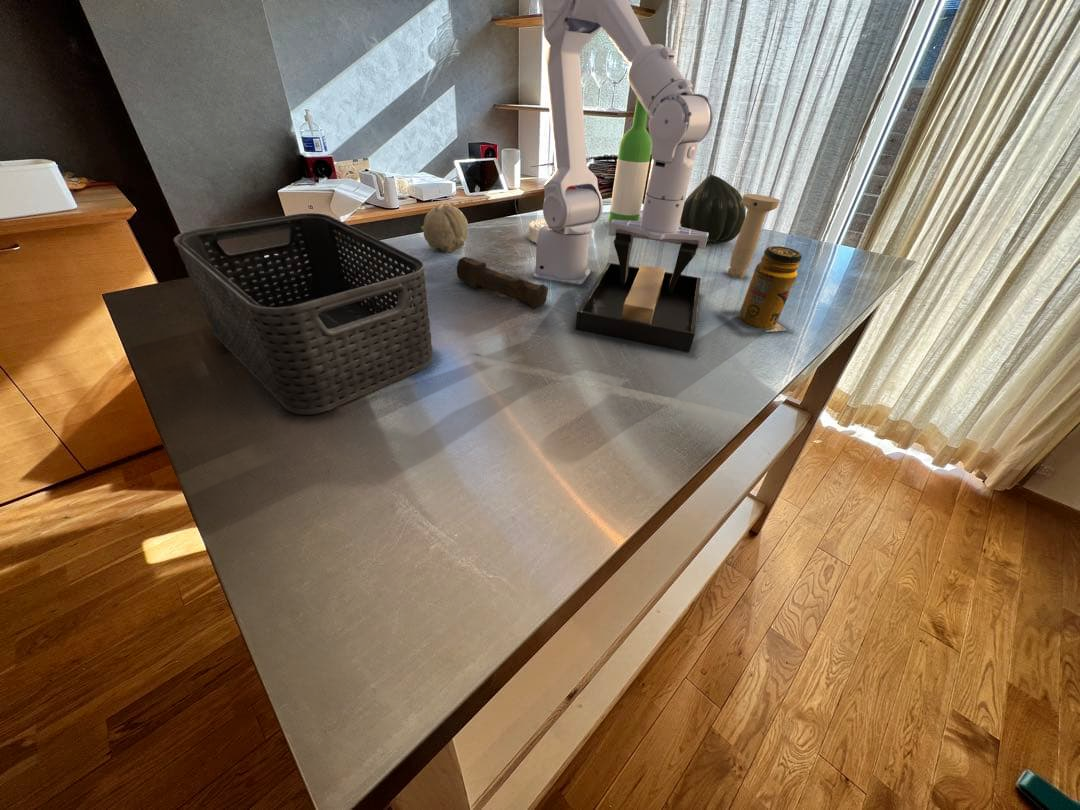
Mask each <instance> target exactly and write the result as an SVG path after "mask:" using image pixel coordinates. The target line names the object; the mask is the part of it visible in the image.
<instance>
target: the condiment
mask: <svg viewBox="0 0 1080 810" xmlns="http://www.w3.org/2000/svg"><path fill="white" fill-rule="evenodd" d="M802 256H803V255H802V253H801V252H800V251H798V250H796V249H793V248H791V247H787V246H779V245H778V246H777V245H771V246H768V247H766V248H765V250H764V251H763V255H762V256H761V259H760V261H759V263H758V264H757V265H756V266H755V268H754V272H753V274H752V277H751V280H750V282H749V286H748V288H747V291H746V293H745V296H744V298H743V302H742V303H741V307H740V310H739V315H738V319H739V321H740V322H742V323H743V324H745V325H747V326H749V327H752V328H756V329H760V330H761V329H762V330H765V333H771V332H784V331H785V332H786V331H787V330H788V329H786V328H785V327H784V326H782V325H781V324H779V323H778V321H779V318H780V316H781V314H782V312H783V310H784V307H785V305H786V303H787V300H788V298H789V295H790V293H791V290H792V289H793V286H794V284H795V282H796V279H797V276H798V271H797V270H798V269H799V265H800V262H801V261H802ZM721 313H723V314H725V313H726V314H727V315H729V312H725V311H721ZM735 313H737V311H735Z"/></svg>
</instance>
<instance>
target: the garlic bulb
mask: <svg viewBox="0 0 1080 810" xmlns="http://www.w3.org/2000/svg"><path fill="white" fill-rule="evenodd" d="M468 227H469V222H468V219H467V218H466V216H465V215H464V213H463V212H462V211H461V210H460V209H459V208H458V207H457V206H456V207H455V206H453V205H451V204H448V205H444V206H442V205H437V206H436V207H432V208H431V209H430V210H429V211H428V212H427V214H426V215H425V216H424V221H423V225H421V227H420V228H421V231H422V232H423V237H424V240H425V241H426V243H428V246H429V247H430V248H436V249H440V250H441V251H442V252H446V253H452V252H455V251H457V250H458V249H461V248H462V247H464V246H465V242H466V241H467V239H468Z"/></svg>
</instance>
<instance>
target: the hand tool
mask: <svg viewBox="0 0 1080 810" xmlns="http://www.w3.org/2000/svg"><path fill="white" fill-rule="evenodd" d="M456 276H457V279H458V280H460V281H462V282H463V283H464V284H466V285H468V286H470V287H472V288H474V289H482V288H484V289H486V290H489V291H491V292H493V293H498V294H501V295H503V296H506V297H507V298H508V297H509V298H512V299H514V300H517V301H519V302H522V303H523V304H528V305H531V306H532V309H533V310H537V309H539V308H541V307H542V306H543V307H544V305H545V303H546V302H547V297H548V292H549V288H548V286H547V285H546V284H543V283H542V284H538V283H533V282H532V281H529V280H525V279H524V278H521V277H515V276H511V275H509V274H506V273H502V272H500V271H497V270H495V269H492V268H490V267H487V263H486V262H484V261H481V260H480V261H479V260H477V259H474V258H472V257H467V256H462V257H461V258H460V259H459V260H458V261H457V266H456Z"/></svg>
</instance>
